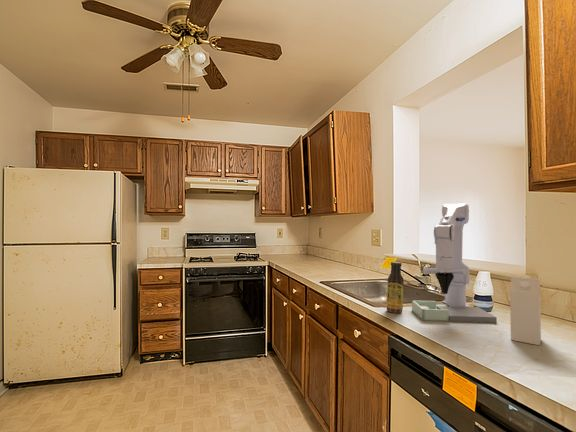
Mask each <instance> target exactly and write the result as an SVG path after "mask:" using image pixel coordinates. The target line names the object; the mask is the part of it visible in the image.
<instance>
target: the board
mask: <svg viewBox="0 0 576 432" xmlns="http://www.w3.org/2000/svg"><path fill="white" fill-rule="evenodd" d="M436 308H437V309H442V310H449V321H448V322H453V323H454V322H455V323H456V322H457V323H459V322H460V323H485V324H486V323H490V324H495V323H497V317H496V316H495V315H493V314H492V313H490V312H487V311H486V310H484V309H482V308H480V307H479V306H477V307H476V306H475V307H474V306H470V307H451V306H449V305H446V306H445V305H436Z"/></svg>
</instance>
